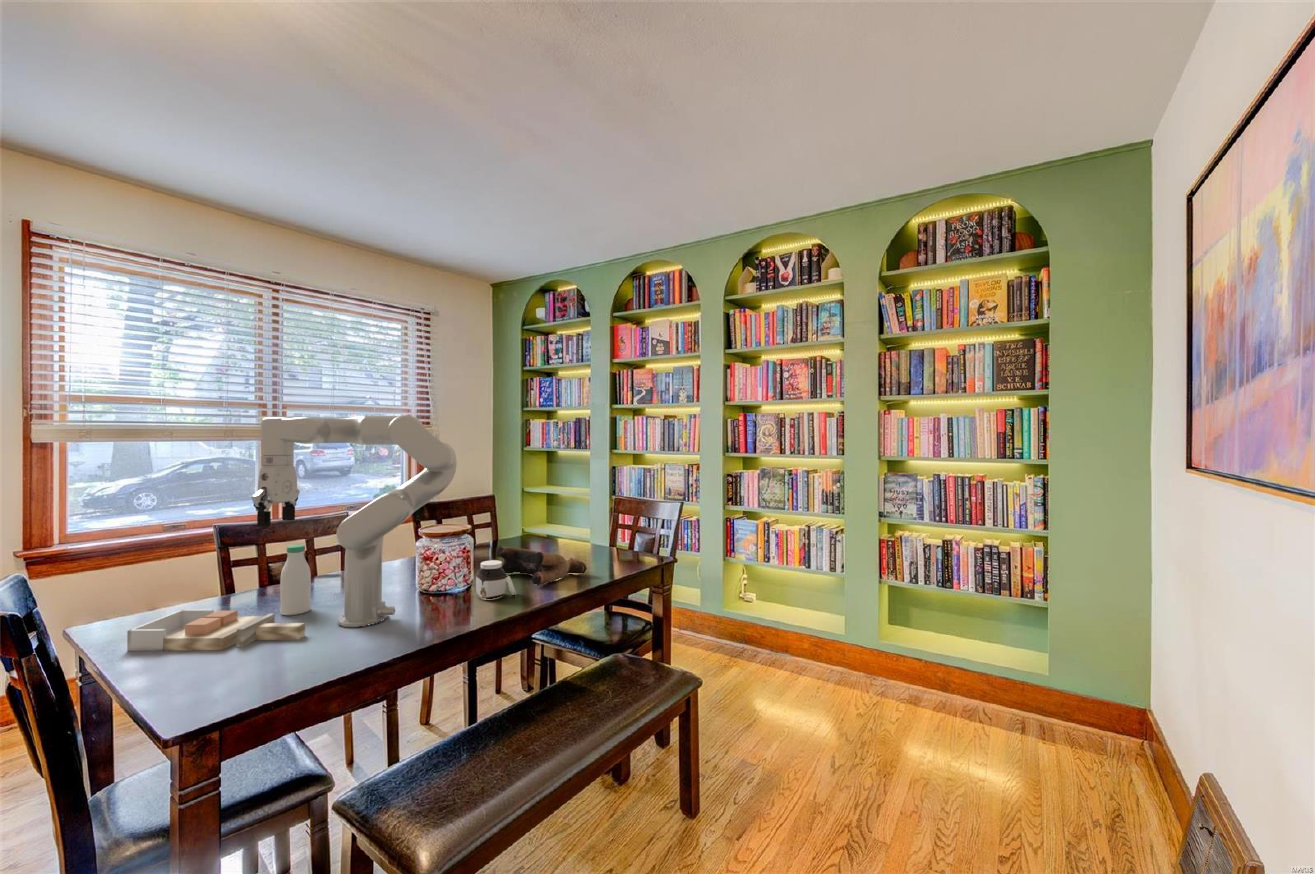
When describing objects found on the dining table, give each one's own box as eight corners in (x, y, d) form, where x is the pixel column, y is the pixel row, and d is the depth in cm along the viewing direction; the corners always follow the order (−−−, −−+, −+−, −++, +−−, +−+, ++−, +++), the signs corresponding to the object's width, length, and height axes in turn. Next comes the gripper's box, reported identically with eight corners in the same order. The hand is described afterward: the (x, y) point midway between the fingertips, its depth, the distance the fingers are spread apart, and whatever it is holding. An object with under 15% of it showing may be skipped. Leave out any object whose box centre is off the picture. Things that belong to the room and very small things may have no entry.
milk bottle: (316, 609, 165) (316, 544, 165) (290, 617, 158) (290, 549, 158) (300, 606, 168) (300, 542, 168) (274, 613, 161) (274, 547, 161)
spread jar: (472, 597, 179) (472, 562, 179) (502, 589, 188) (502, 556, 188) (492, 604, 171) (492, 568, 171) (522, 596, 180) (522, 562, 180)
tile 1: (220, 627, 141) (220, 617, 141) (205, 634, 136) (205, 624, 136) (200, 627, 141) (201, 617, 141) (185, 634, 136) (185, 624, 136)
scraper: (315, 629, 149) (315, 613, 149) (287, 646, 137) (287, 628, 137) (268, 629, 148) (268, 613, 148) (236, 647, 136) (236, 629, 136)
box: (213, 627, 149) (213, 609, 149) (162, 650, 133) (163, 630, 133) (181, 627, 149) (181, 609, 149) (127, 650, 133) (127, 630, 133)
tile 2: (237, 619, 147) (237, 610, 147) (223, 625, 142) (223, 616, 142) (218, 619, 147) (218, 610, 147) (203, 626, 142) (204, 616, 142)
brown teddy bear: (546, 548, 188) (593, 545, 209) (488, 545, 205) (537, 543, 226) (545, 586, 186) (593, 579, 207) (486, 580, 203) (536, 574, 224)
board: (266, 626, 150) (266, 616, 150) (222, 649, 134) (222, 637, 134) (214, 627, 149) (214, 616, 149) (164, 650, 133) (164, 638, 133)
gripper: (268, 463, 141) (267, 528, 141) (310, 460, 158) (310, 518, 158) (239, 463, 141) (239, 528, 141) (285, 460, 158) (284, 518, 158)
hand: (276, 522), depth 150 cm, fingers open, 9 cm apart
